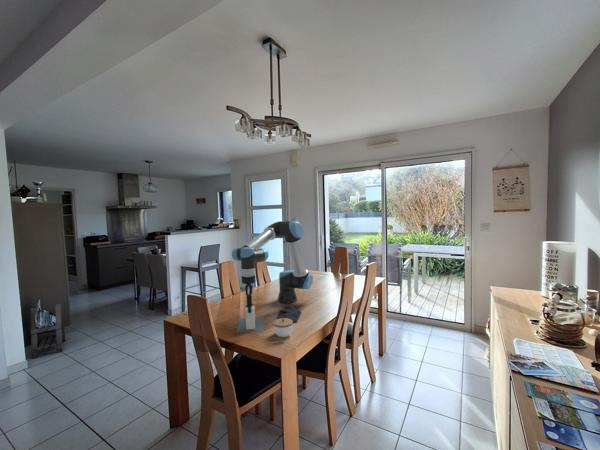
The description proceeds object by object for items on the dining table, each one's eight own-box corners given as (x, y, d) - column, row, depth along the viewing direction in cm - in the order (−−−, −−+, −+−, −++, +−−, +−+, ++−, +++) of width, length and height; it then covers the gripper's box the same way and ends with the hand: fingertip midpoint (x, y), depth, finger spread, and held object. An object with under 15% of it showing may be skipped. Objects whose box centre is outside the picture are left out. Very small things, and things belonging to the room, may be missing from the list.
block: (255, 325, 161) (254, 305, 161) (255, 329, 156) (254, 309, 155) (246, 326, 161) (246, 306, 160) (246, 330, 155) (245, 309, 154)
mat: (263, 317, 176) (263, 316, 176) (264, 331, 154) (264, 330, 154) (238, 319, 174) (238, 318, 174) (236, 333, 152) (236, 332, 152)
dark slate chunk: (273, 323, 166) (272, 316, 166) (280, 311, 188) (280, 304, 188) (297, 324, 164) (297, 316, 164) (302, 311, 186) (302, 304, 186)
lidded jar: (273, 332, 153) (273, 315, 153) (292, 330, 154) (292, 314, 154) (273, 340, 142) (273, 323, 142) (293, 339, 143) (293, 321, 143)
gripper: (242, 273, 154) (243, 314, 155) (240, 278, 141) (242, 323, 142) (255, 272, 155) (256, 313, 156) (255, 277, 142) (256, 321, 143)
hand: (249, 317), depth 149 cm, fingers closed
